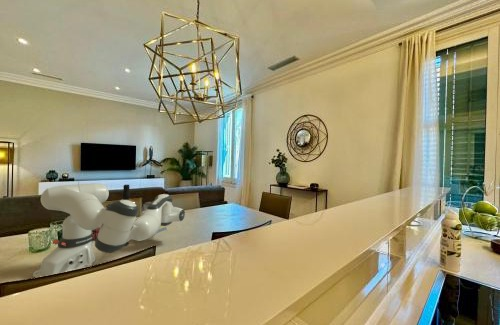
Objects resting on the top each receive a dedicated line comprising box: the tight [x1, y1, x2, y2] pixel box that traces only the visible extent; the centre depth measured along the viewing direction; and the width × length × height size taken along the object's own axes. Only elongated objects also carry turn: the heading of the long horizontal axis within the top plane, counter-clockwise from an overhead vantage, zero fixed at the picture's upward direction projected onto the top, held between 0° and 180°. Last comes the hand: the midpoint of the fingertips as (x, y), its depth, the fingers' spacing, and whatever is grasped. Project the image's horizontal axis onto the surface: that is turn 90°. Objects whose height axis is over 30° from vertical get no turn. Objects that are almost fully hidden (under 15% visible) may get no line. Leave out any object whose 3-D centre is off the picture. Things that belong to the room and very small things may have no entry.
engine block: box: [142, 201, 152, 211], centre depth 146 cm, size 5×5×11 cm
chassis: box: [156, 226, 167, 234], centre depth 153 cm, size 14×14×4 cm
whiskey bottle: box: [121, 184, 137, 204], centre depth 153 cm, size 10×10×32 cm
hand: (148, 210), depth 146 cm, fingers closed on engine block, 5 cm apart
